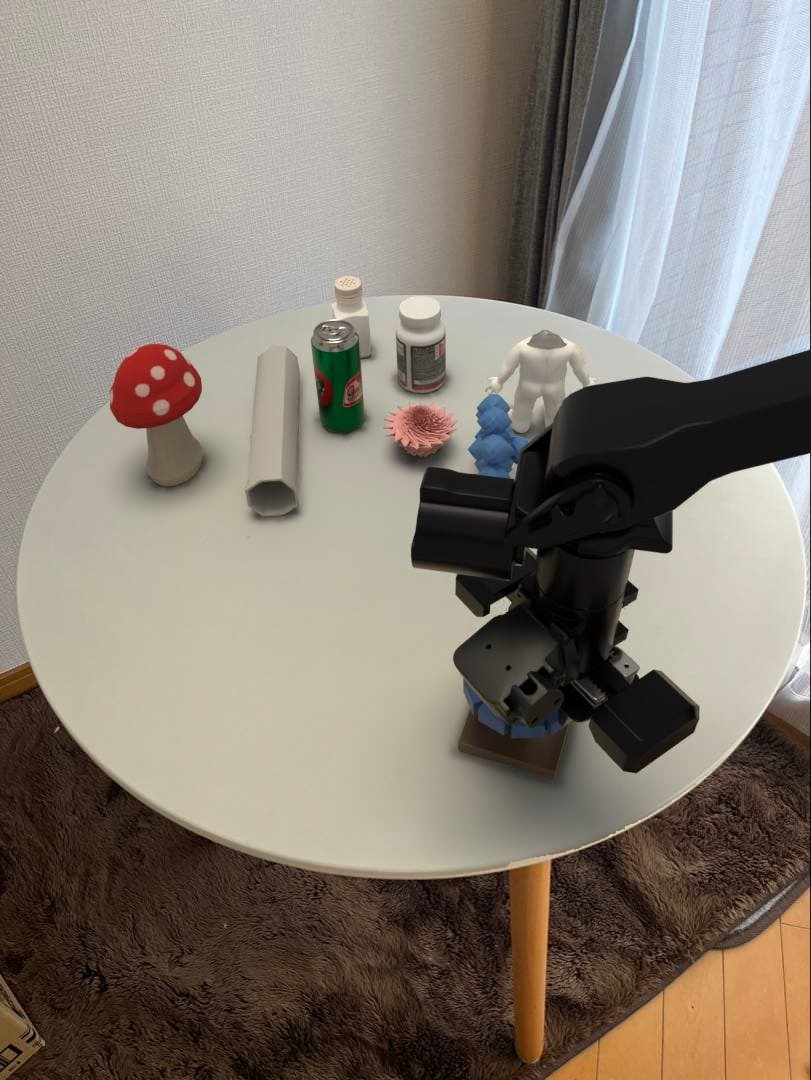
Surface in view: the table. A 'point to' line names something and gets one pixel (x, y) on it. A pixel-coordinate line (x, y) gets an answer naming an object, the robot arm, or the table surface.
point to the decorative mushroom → (160, 409)
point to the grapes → (495, 439)
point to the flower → (421, 428)
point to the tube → (274, 434)
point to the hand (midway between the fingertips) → (556, 712)
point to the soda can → (338, 375)
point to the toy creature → (540, 375)
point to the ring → (502, 727)
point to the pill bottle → (420, 345)
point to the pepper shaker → (353, 310)
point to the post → (513, 747)
